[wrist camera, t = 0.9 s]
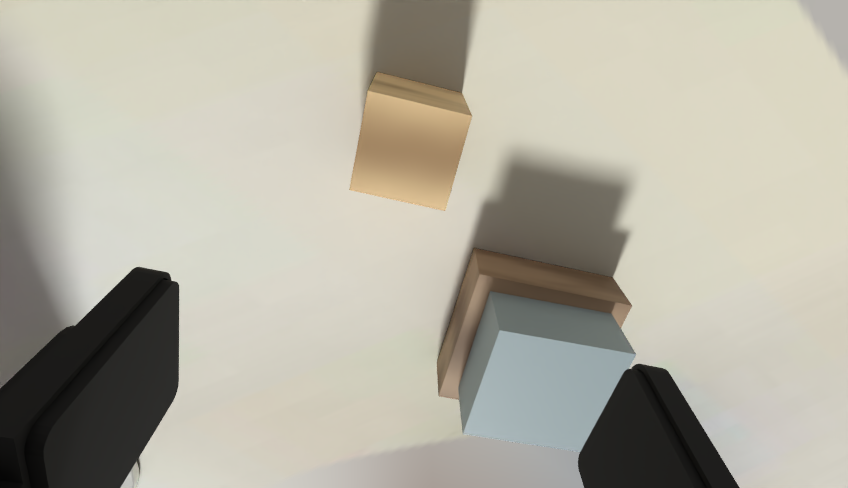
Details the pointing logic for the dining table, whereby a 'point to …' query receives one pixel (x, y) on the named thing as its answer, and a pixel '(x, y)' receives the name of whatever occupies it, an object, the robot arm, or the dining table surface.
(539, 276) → the walnut slab
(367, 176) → the oak block
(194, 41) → the dining table surface
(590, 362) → the slate-grey block
